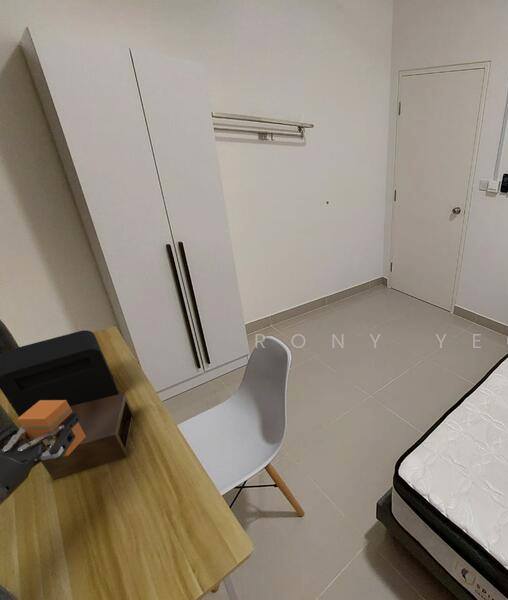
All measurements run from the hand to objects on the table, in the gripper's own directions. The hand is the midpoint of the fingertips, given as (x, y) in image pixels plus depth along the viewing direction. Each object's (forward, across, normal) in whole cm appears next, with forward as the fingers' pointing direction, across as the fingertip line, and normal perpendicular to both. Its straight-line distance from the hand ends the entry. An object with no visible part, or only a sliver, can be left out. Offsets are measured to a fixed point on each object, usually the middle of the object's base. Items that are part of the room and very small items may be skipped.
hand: (62, 415), depth 70 cm
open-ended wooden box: (+10, -7, -22) cm, 25 cm away
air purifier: (+26, -24, -22) cm, 42 cm away
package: (-3, 0, -6) cm, 7 cm away
